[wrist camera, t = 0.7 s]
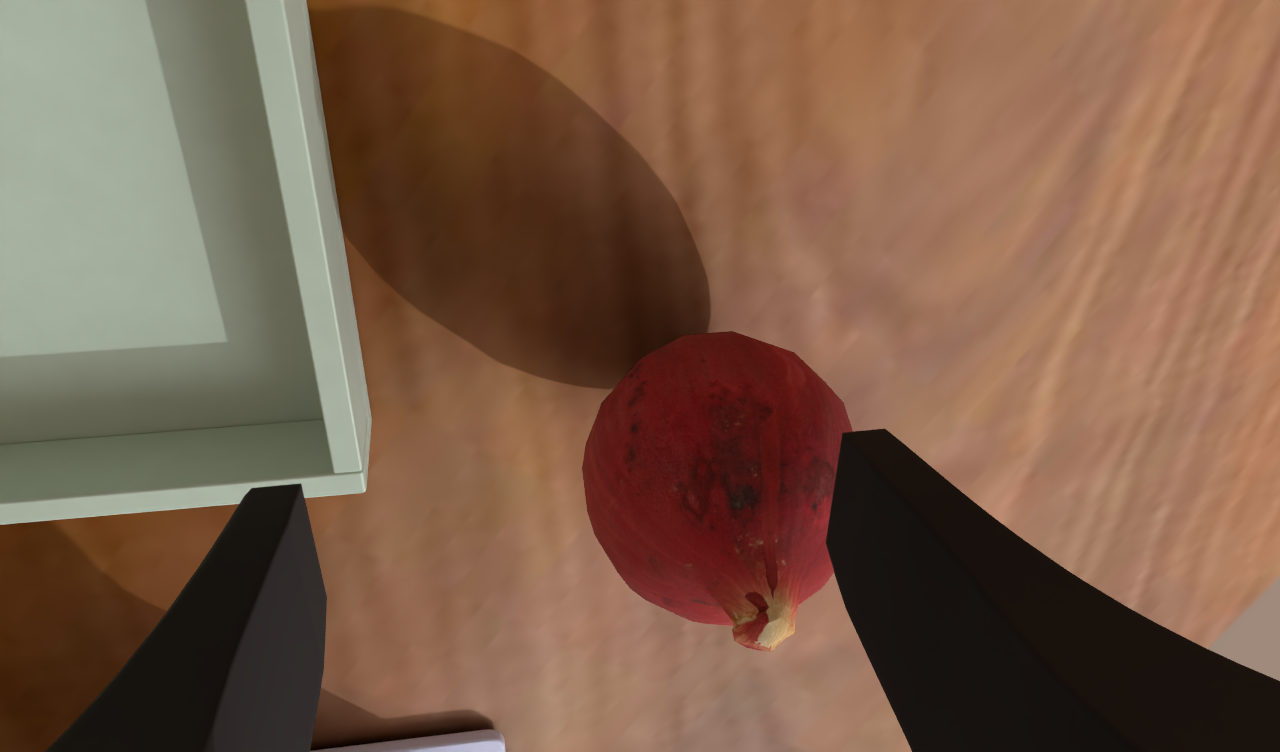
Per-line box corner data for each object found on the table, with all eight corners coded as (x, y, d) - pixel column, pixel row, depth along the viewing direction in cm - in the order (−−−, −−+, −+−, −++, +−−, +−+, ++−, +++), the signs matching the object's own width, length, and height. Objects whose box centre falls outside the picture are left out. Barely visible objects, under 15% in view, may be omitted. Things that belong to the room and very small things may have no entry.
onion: (557, 282, 23) (605, 531, 16) (811, 254, 24) (954, 484, 17) (574, 483, 26) (620, 756, 20) (797, 454, 27) (912, 710, 20)
